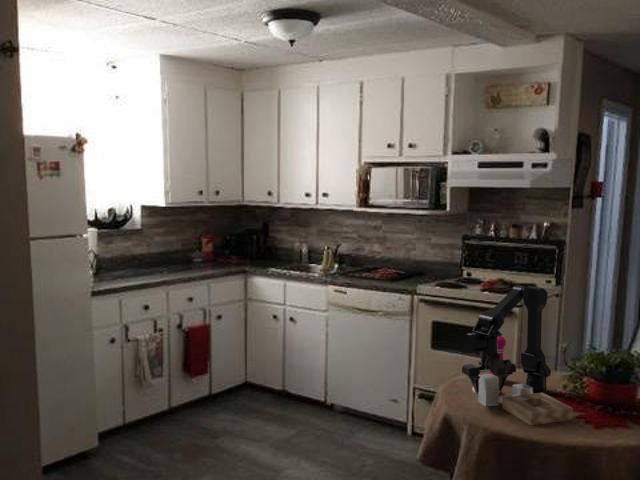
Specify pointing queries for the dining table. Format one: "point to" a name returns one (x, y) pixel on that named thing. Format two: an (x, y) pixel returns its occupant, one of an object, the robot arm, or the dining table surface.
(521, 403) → the hole block
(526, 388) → the grey cube
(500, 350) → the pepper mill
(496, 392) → the grey tall rectangular block
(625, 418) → the dining table surface
